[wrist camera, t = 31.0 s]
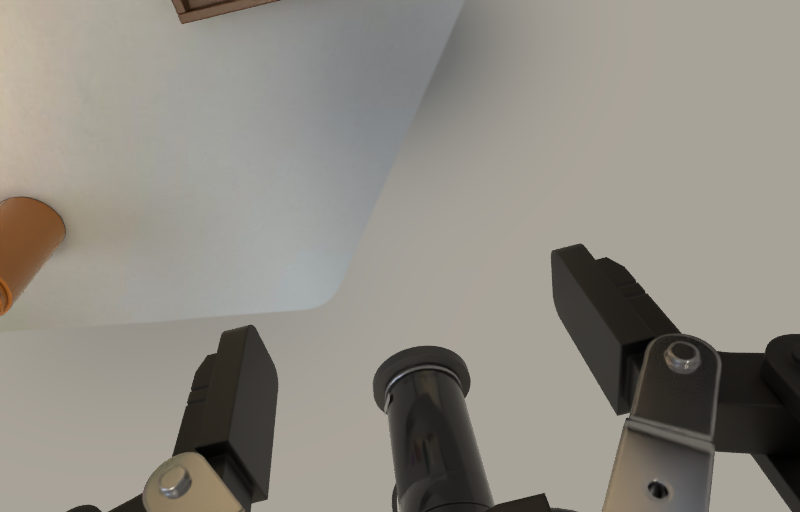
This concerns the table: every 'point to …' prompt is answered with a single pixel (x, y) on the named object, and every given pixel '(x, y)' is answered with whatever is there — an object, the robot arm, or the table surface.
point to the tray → (211, 8)
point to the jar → (25, 244)
